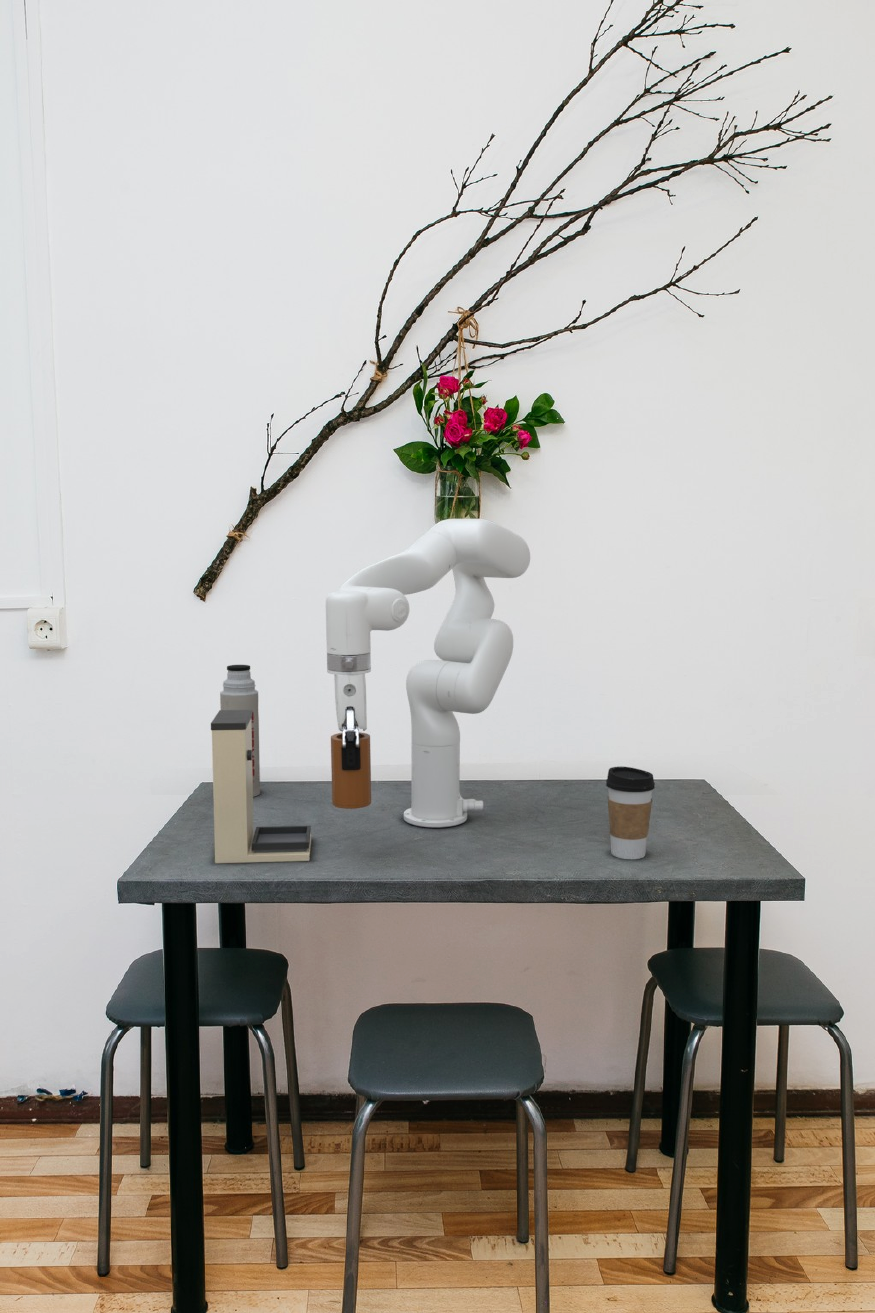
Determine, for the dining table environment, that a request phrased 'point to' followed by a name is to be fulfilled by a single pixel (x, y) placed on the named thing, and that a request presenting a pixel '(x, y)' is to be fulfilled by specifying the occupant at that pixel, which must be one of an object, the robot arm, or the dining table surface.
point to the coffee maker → (245, 800)
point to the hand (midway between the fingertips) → (351, 763)
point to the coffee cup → (629, 810)
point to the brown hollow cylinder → (351, 775)
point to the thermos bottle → (244, 697)
